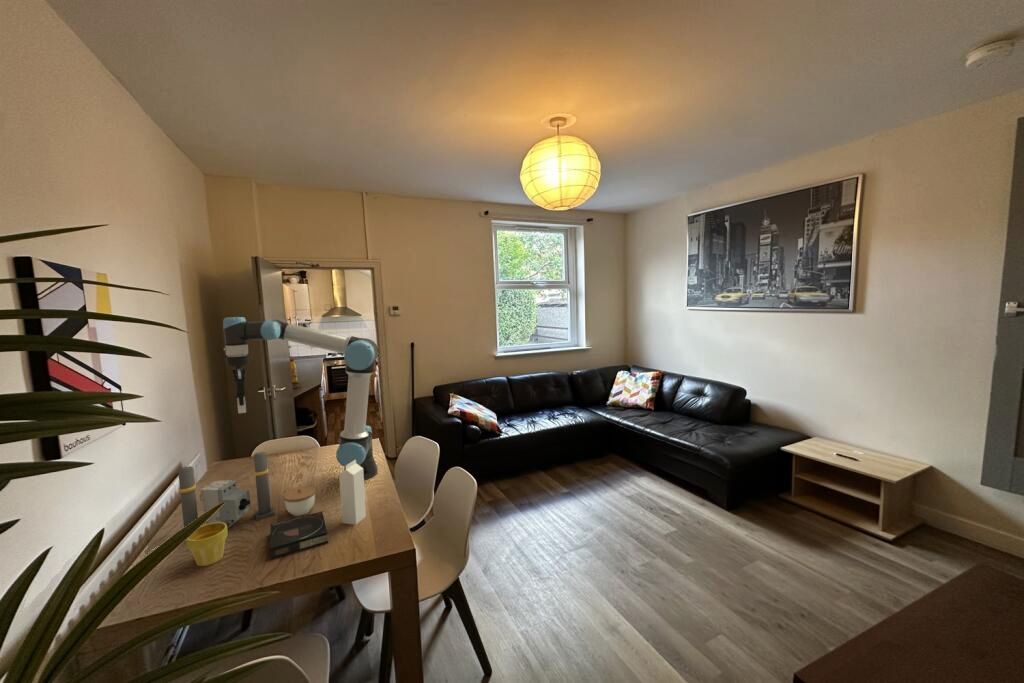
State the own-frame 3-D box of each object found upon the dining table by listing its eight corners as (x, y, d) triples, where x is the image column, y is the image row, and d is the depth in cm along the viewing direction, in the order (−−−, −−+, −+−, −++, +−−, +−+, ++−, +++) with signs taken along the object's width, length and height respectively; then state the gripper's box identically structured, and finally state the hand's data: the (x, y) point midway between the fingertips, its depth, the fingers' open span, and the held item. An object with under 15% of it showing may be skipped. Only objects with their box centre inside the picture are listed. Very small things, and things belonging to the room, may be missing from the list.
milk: (342, 523, 147) (337, 465, 145) (352, 514, 153) (348, 458, 151) (356, 525, 146) (352, 466, 143) (366, 516, 152) (362, 459, 149)
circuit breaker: (242, 529, 144) (238, 489, 143) (203, 530, 144) (199, 490, 143) (255, 518, 152) (252, 480, 150) (218, 518, 152) (215, 480, 150)
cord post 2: (273, 508, 159) (268, 449, 156) (274, 515, 154) (270, 454, 151) (255, 513, 155) (250, 453, 153) (256, 520, 150) (251, 458, 148)
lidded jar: (322, 507, 159) (321, 484, 158) (300, 521, 149) (298, 497, 148) (301, 503, 163) (300, 481, 162) (278, 516, 153) (276, 493, 152)
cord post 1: (203, 527, 146) (196, 463, 143) (202, 535, 141) (196, 469, 139) (181, 533, 142) (175, 468, 140) (180, 541, 137) (173, 473, 135)
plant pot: (183, 574, 120) (180, 543, 119) (194, 555, 130) (191, 526, 129) (225, 565, 124) (222, 535, 124) (233, 546, 134) (230, 518, 133)
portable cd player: (271, 561, 126) (270, 549, 126) (271, 535, 141) (270, 524, 141) (328, 544, 135) (327, 533, 134) (322, 521, 149) (322, 511, 149)
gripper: (225, 354, 166) (230, 410, 168) (226, 357, 155) (231, 417, 157) (247, 353, 170) (252, 407, 172) (249, 356, 160) (254, 414, 162)
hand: (242, 412), depth 165 cm, fingers closed
